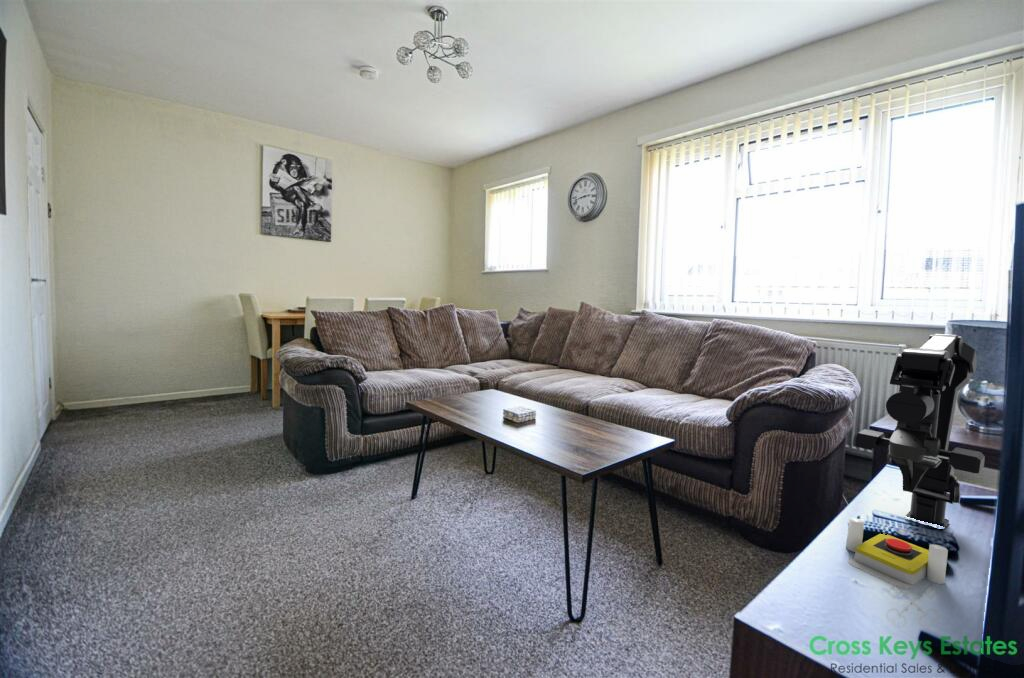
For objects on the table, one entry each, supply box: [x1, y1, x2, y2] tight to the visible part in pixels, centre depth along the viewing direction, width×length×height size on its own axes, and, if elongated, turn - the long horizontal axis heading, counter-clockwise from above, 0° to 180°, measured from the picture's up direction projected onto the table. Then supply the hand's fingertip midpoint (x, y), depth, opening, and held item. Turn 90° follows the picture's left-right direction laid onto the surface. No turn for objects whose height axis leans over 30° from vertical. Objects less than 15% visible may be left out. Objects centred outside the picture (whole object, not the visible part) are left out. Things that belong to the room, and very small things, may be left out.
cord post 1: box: [845, 517, 865, 553], centre depth 91 cm, size 2×2×6 cm
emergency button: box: [848, 533, 929, 590], centre depth 86 cm, size 9×4×15 cm
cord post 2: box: [925, 543, 949, 585], centre depth 81 cm, size 2×2×6 cm
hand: (910, 491), depth 91 cm, fingers closed
